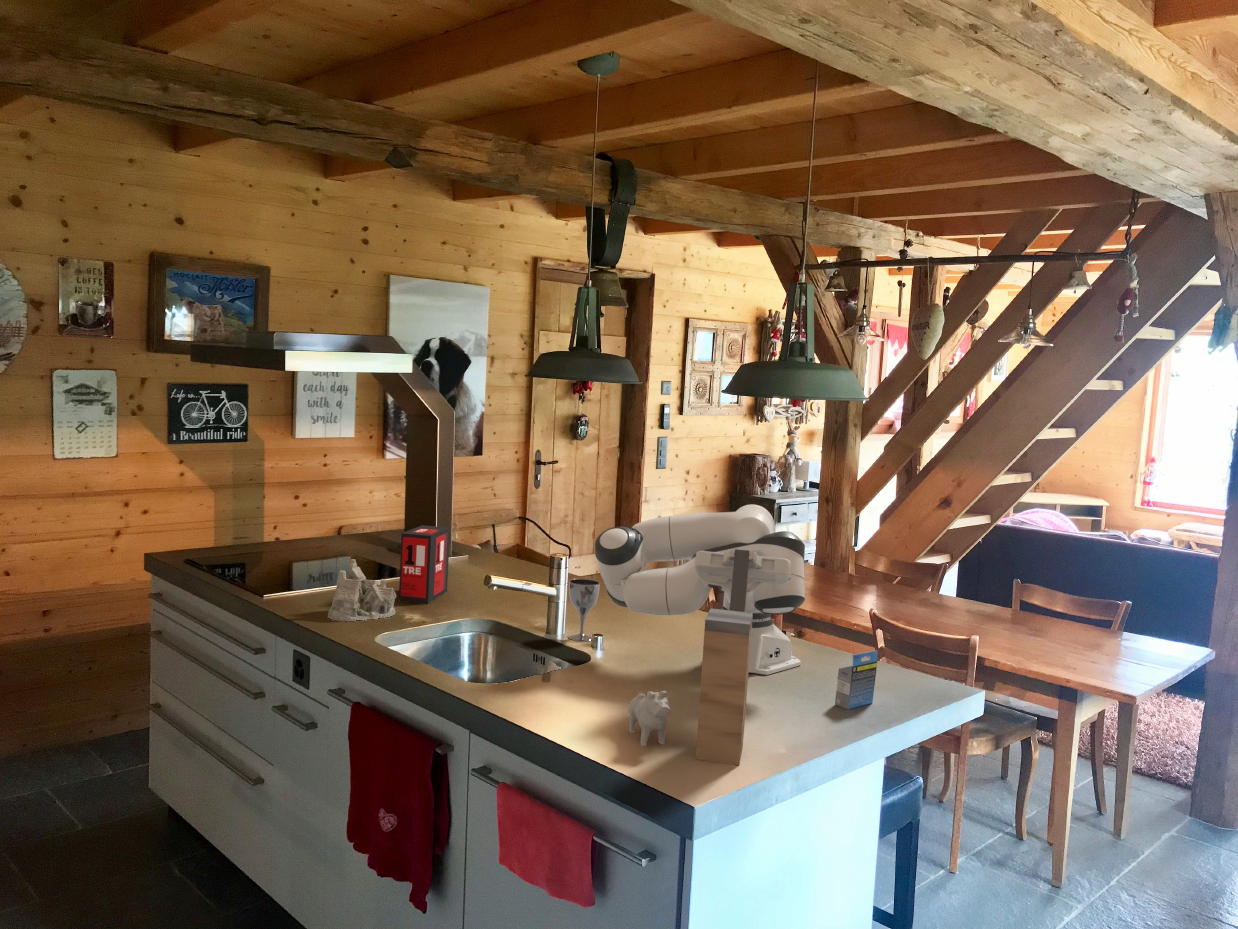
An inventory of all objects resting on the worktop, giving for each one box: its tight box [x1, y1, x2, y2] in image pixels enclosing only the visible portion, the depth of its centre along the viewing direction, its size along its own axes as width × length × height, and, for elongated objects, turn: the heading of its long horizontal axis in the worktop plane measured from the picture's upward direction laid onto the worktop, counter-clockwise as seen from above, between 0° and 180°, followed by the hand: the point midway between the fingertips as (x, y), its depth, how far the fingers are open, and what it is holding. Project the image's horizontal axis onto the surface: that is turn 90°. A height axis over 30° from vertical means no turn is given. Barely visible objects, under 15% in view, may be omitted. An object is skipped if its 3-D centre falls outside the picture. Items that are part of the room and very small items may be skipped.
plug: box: [730, 549, 750, 612], centre depth 197 cm, size 20×5×4 cm
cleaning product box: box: [398, 525, 451, 605], centre depth 283 cm, size 16×9×20 cm, turn 171°
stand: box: [694, 607, 753, 766], centre depth 176 cm, size 9×8×26 cm
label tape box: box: [834, 649, 879, 711], centre depth 209 cm, size 9×4×12 cm, turn 128°
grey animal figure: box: [628, 690, 672, 747], centre depth 181 cm, size 5×13×11 cm, turn 20°
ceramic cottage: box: [327, 558, 397, 622], centre depth 258 cm, size 16×16×15 cm
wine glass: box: [567, 577, 601, 643], centre depth 249 cm, size 8×8×15 cm
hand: (741, 554), depth 198 cm, fingers closed on plug, 3 cm apart
